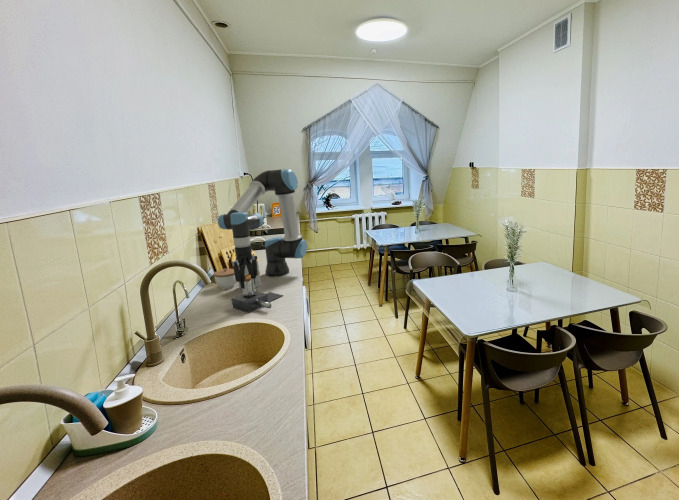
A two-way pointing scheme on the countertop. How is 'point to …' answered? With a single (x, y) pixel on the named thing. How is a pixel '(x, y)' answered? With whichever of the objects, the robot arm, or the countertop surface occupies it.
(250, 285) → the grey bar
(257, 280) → the supplement box
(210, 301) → the countertop surface
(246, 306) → the block
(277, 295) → the mat
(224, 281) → the lidded bowl
